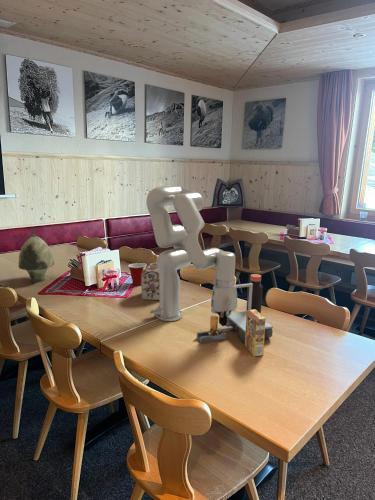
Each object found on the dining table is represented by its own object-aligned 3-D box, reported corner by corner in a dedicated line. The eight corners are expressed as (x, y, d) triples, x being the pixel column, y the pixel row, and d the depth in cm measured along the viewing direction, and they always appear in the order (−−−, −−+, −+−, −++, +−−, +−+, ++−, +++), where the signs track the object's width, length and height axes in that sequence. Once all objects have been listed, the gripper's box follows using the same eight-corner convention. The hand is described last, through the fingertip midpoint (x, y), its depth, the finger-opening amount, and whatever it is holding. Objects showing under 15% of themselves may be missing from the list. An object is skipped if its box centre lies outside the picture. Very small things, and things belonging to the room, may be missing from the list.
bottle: (263, 315, 175) (266, 275, 170) (255, 319, 170) (258, 278, 166) (251, 311, 180) (253, 272, 175) (243, 315, 175) (245, 275, 170)
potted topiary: (32, 278, 230) (26, 230, 226) (61, 277, 227) (56, 228, 223) (13, 285, 211) (7, 233, 207) (45, 284, 208) (39, 231, 204)
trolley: (244, 344, 147) (247, 300, 143) (224, 326, 164) (226, 285, 159) (272, 340, 152) (275, 296, 147) (250, 322, 168) (252, 282, 163)
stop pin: (210, 338, 150) (211, 319, 148) (207, 335, 152) (208, 316, 150) (233, 334, 153) (234, 315, 151) (230, 331, 156) (231, 313, 154)
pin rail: (201, 343, 148) (201, 337, 147) (196, 338, 152) (196, 332, 152) (226, 339, 151) (226, 333, 151) (220, 334, 156) (221, 328, 155)
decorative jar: (166, 293, 203) (167, 261, 198) (163, 300, 191) (163, 267, 187) (145, 291, 204) (145, 260, 199) (140, 299, 193) (140, 266, 188)
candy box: (263, 355, 139) (266, 318, 136) (253, 357, 138) (256, 319, 135) (253, 344, 148) (255, 308, 144) (243, 345, 147) (246, 309, 143)
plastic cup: (139, 279, 224) (139, 260, 221) (150, 284, 216) (150, 264, 213) (124, 283, 216) (124, 264, 213) (135, 288, 209) (135, 268, 206)
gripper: (211, 287, 142) (210, 331, 146) (245, 283, 147) (243, 326, 151) (203, 281, 149) (202, 323, 153) (236, 278, 154) (234, 318, 158)
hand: (222, 324), depth 152 cm, fingers closed
